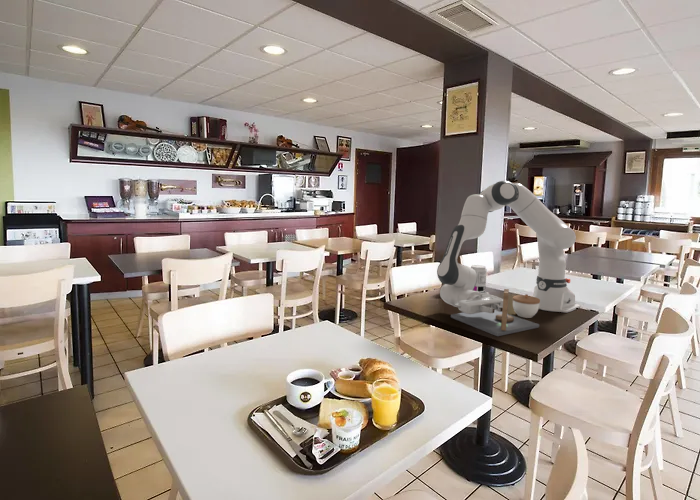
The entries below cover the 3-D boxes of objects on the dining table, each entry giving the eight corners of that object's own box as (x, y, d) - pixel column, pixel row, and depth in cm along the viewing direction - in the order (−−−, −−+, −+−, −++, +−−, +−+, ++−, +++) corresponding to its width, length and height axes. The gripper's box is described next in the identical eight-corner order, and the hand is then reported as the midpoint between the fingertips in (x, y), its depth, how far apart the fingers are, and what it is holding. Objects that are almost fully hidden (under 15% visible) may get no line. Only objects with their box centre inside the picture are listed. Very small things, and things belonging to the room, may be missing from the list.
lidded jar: (543, 316, 175) (544, 295, 174) (531, 321, 168) (533, 299, 167) (518, 310, 183) (520, 290, 182) (506, 315, 176) (508, 294, 175)
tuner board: (490, 310, 183) (490, 304, 182) (538, 327, 161) (539, 320, 160) (450, 317, 172) (451, 310, 171) (497, 336, 150) (497, 328, 150)
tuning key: (495, 315, 170) (498, 281, 168) (513, 317, 167) (516, 283, 165) (493, 329, 153) (496, 291, 151) (513, 331, 150) (516, 293, 148)
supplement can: (468, 296, 207) (470, 267, 205) (468, 292, 215) (470, 264, 213) (485, 297, 205) (487, 268, 202) (484, 293, 212) (486, 265, 210)
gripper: (452, 296, 162) (478, 305, 150) (489, 291, 172) (516, 299, 160) (451, 311, 163) (476, 322, 151) (488, 305, 173) (515, 315, 160)
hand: (497, 310), depth 155 cm, fingers open, 3 cm apart
